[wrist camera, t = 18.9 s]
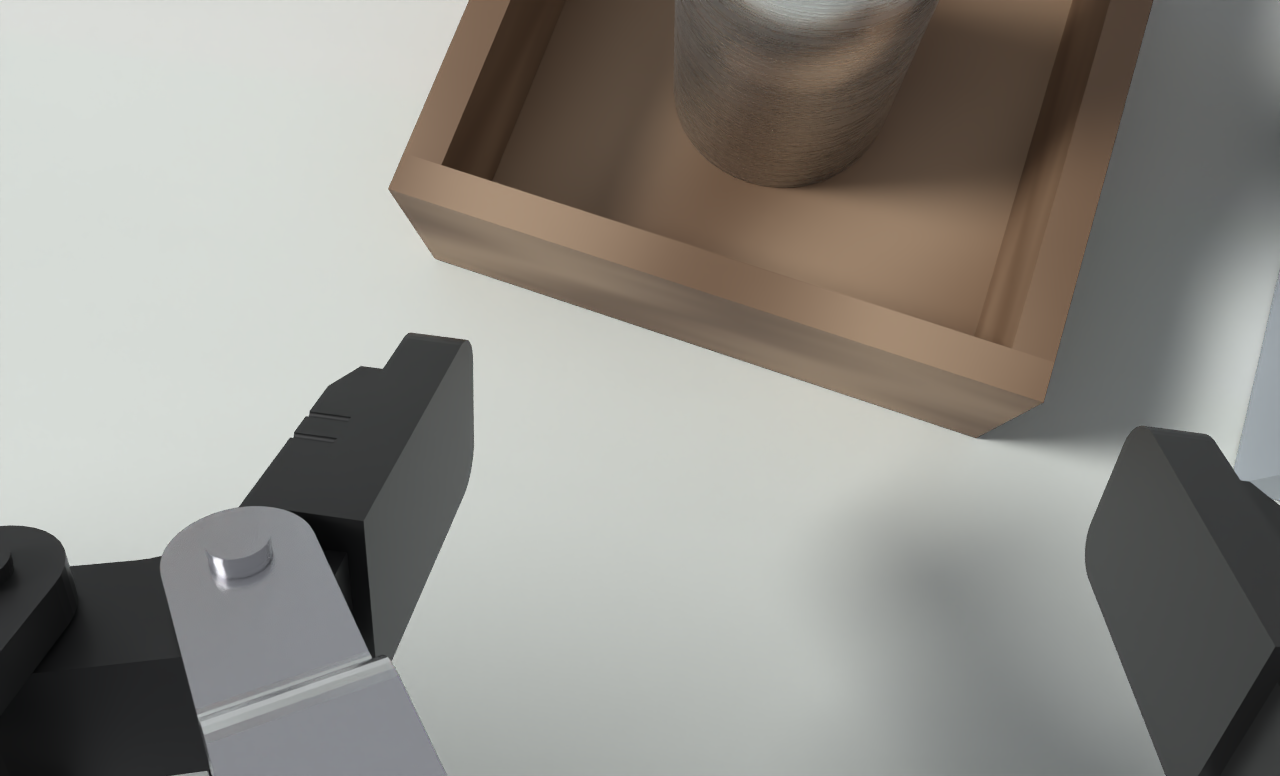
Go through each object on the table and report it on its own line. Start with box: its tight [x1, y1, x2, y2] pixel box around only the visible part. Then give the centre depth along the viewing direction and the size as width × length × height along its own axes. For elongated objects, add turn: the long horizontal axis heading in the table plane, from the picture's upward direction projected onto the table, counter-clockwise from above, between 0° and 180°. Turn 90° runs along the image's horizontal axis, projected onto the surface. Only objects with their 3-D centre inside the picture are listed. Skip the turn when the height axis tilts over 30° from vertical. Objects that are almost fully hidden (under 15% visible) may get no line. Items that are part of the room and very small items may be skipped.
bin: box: [388, 0, 1153, 438], centre depth 19 cm, size 11×11×4 cm
